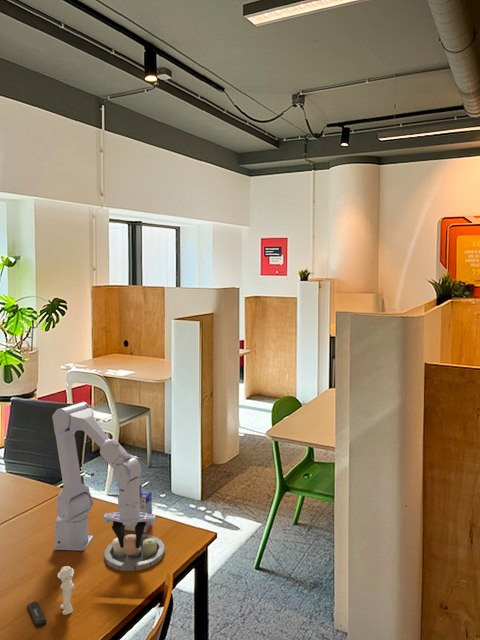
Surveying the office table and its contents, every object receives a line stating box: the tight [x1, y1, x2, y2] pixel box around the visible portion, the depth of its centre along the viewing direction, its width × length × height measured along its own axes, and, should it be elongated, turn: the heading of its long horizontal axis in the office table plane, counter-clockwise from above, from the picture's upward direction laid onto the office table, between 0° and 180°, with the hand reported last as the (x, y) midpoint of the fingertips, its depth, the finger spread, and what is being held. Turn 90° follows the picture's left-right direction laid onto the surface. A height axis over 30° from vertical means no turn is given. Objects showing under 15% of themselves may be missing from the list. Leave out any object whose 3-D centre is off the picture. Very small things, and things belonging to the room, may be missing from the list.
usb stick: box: [26, 600, 47, 628], centre depth 131 cm, size 10×3×2 cm, turn 35°
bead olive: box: [143, 538, 157, 558], centre depth 156 cm, size 4×4×4 cm
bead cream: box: [112, 537, 126, 557], centre depth 156 cm, size 4×4×4 cm
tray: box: [103, 533, 166, 572], centre depth 156 cm, size 17×17×2 cm
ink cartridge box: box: [117, 484, 153, 533], centre depth 172 cm, size 10×6×14 cm, turn 79°
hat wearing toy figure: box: [57, 565, 75, 616], centre depth 133 cm, size 9×4×12 cm, turn 27°
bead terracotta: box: [123, 533, 138, 555], centre depth 151 cm, size 4×4×4 cm
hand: (130, 546), depth 151 cm, fingers closed on bead terracotta, 4 cm apart
